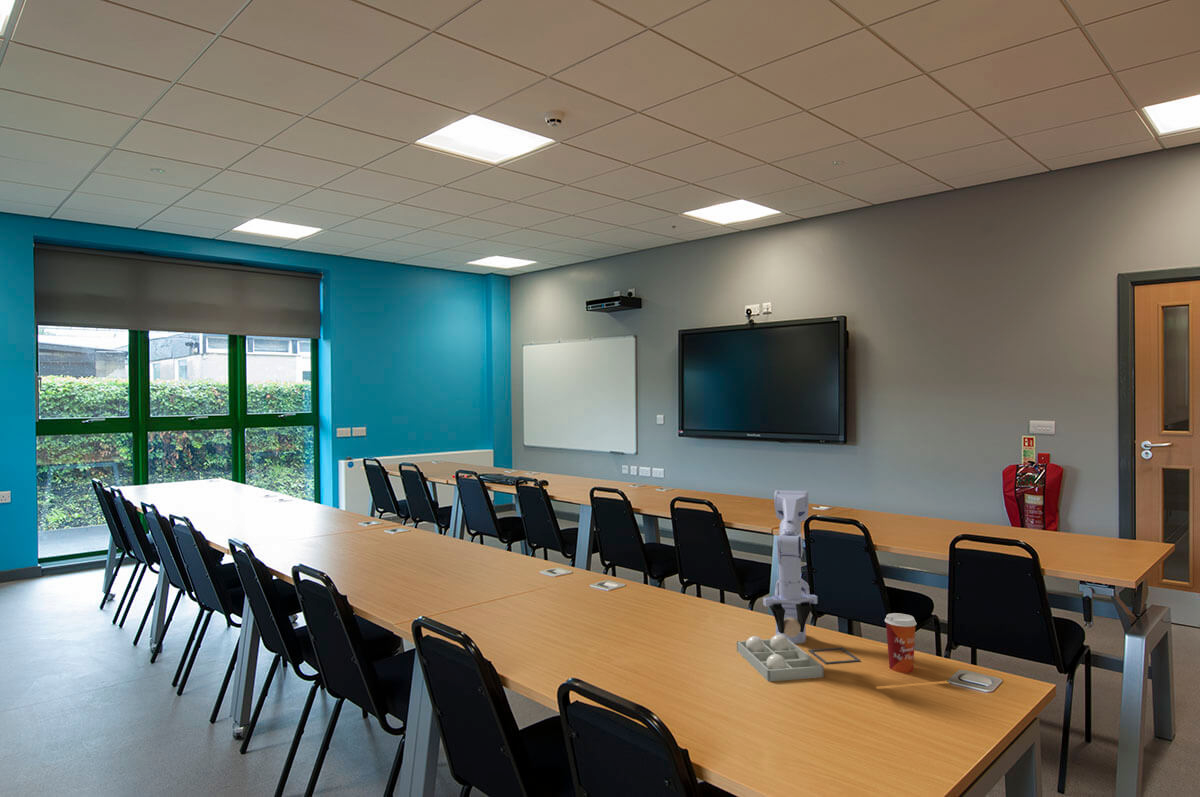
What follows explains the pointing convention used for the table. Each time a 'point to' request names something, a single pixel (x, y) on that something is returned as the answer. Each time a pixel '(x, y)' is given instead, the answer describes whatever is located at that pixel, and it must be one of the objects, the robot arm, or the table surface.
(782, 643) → the white egg
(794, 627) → the beige ball
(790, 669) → the tray
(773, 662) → the white egg
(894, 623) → the paper cup
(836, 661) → the coaster
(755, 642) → the white egg
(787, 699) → the table surface
